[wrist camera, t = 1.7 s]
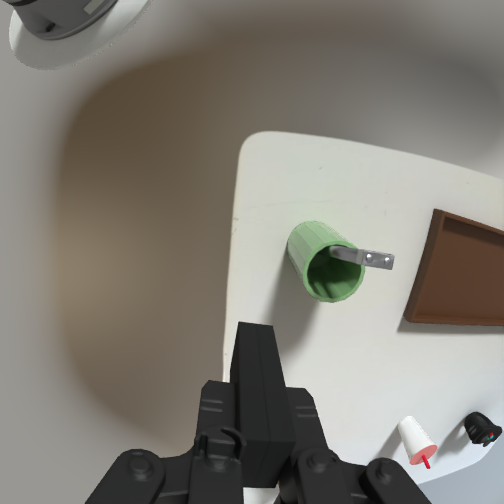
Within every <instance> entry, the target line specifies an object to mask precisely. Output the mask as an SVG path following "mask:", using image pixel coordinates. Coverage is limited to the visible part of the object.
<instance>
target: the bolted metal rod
mask: <svg viewBox="0 0 504 504" xmlns="http://www.w3.org/2000/svg"><path fill="white" fill-rule="evenodd" d="M317 253H318V254H322V255H326V256H330V257H334V258H338V259H342V260H345V261H349V262H353V263H356V264H359V265H363V266H369V267H376V268H382V269H388V270H392V267H393V261H394V255H391V254H385V253H380V252H374V251H368V250H362V249H355V248H348V247H341V246H334V245H331V246H327V247H324V248H323V249H322V250H320V251H319V252H317Z"/></svg>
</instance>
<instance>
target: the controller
mask: <svg viewBox="0 0 504 504" xmlns="http://www.w3.org/2000/svg"><path fill="white" fill-rule="evenodd" d="M464 426H465V429H466V431H467V433H468V435H469V438H470V440H472V443H473V444H481V443H484V444H483V447H486V446H487V445H488V444H489V443H490V442H494V441H495V440H496V439H497V438H498V437H499V436H500V435H501V433H502V428H501V427H500V426H496V425H494V424H493V423H492V422H491V421H490V420H489V419H488V418H487V417H486V416H484V415H483V414H481V413H479V412H473V413H471V414H470V415H469V416H468V418H467V419H466V420H465V423H464Z"/></svg>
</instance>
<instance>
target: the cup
mask: <svg viewBox="0 0 504 504" xmlns="http://www.w3.org/2000/svg"><path fill="white" fill-rule="evenodd" d="M397 427H398V430H399V432H400V435H401V438H402V441H403V443H404V446H405V449H406V452H407V454H408V457H409V460H410V464H411V465H416V464H419V463H422V462H424V463H425V466H426V468H427V469H430V465H429V463H428V461H427V459H429V458H430V457H431V456H432V455H433V454H434V453H435V452H436V450H437V446H436V445H435V444H434V443H433V442H432V440H431V439H430V438H429V437H428V435H427V434H426V433H425V432H424V430H423V429H422V428H421V427H420V425H419V424H418V423H417V422H416V420H415V419H414V418H413V417H412V416H408V417H405V418H404V419H402V420H401V421H400V422H399V423H398V425H397Z"/></svg>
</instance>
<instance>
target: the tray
mask: <svg viewBox="0 0 504 504" xmlns="http://www.w3.org/2000/svg"><path fill="white" fill-rule="evenodd" d="M403 316H404V317H405V318H406V319H407V320H408V321H409V322H413V323H431V324H452V325H482V326H504V231H502V230H499V229H496V228H493V227H490V226H488V225H485V224H482V223H479V222H476V221H473V220H470V219H467V218H464V217H461V216H458V215H455V214H452V213H448V212H445V211H442V210H439V209H435V208H434V212H433V217H432V221H431V225H430V229H429V233H428V237H427V241H426V245H425V249H424V252H423V256H422V259H421V263H420V266H419V269H418V273H417V276H416V279H415V282H414V285H413V289H412V292H411V295H410V298H409V300H408V303H407V306H406V309H405V312H404V315H403Z"/></svg>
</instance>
